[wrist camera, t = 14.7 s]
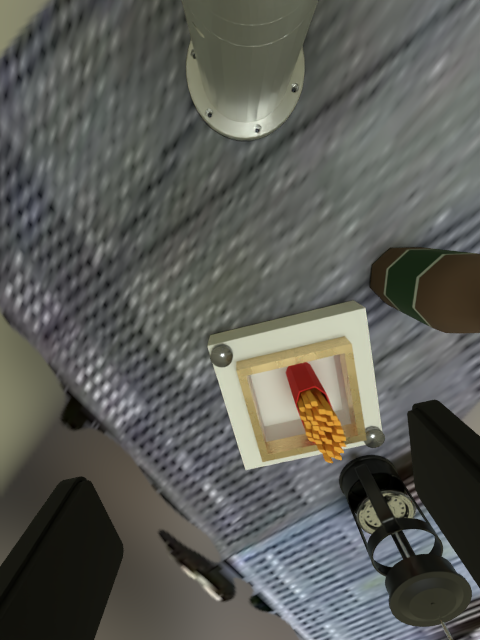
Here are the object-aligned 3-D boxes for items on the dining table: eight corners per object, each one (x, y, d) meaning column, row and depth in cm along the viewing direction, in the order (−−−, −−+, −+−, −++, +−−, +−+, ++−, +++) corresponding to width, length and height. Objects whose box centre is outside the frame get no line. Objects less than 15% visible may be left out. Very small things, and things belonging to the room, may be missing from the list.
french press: (406, 489, 50) (538, 695, 28) (354, 511, 51) (441, 724, 29) (379, 438, 47) (504, 623, 25) (325, 462, 48) (398, 659, 26)
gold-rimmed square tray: (210, 335, 42) (205, 354, 35) (353, 300, 40) (374, 313, 34) (245, 450, 47) (246, 484, 41) (371, 423, 46) (392, 453, 40)
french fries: (280, 361, 42) (295, 410, 31) (306, 351, 42) (332, 398, 30) (298, 409, 45) (319, 472, 33) (324, 401, 44) (354, 461, 33)
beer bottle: (376, 312, 41) (553, 421, 18) (359, 259, 39) (534, 306, 16) (432, 289, 40) (694, 373, 17) (418, 234, 38) (694, 244, 15)
